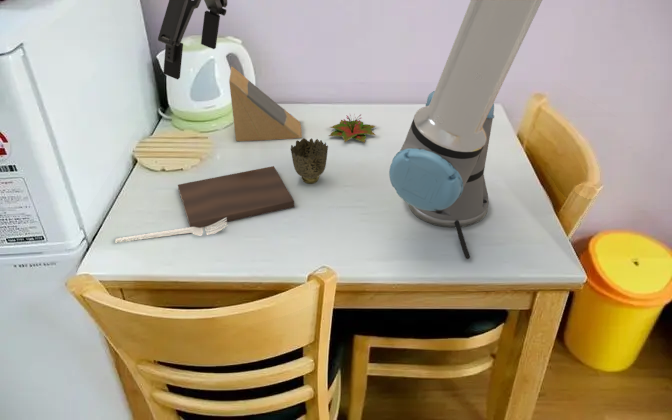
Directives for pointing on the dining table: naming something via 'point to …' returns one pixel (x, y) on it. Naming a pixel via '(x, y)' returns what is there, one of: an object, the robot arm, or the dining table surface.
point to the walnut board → (234, 196)
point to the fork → (177, 232)
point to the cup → (309, 159)
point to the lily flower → (352, 130)
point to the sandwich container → (258, 113)
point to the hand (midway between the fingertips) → (190, 60)
